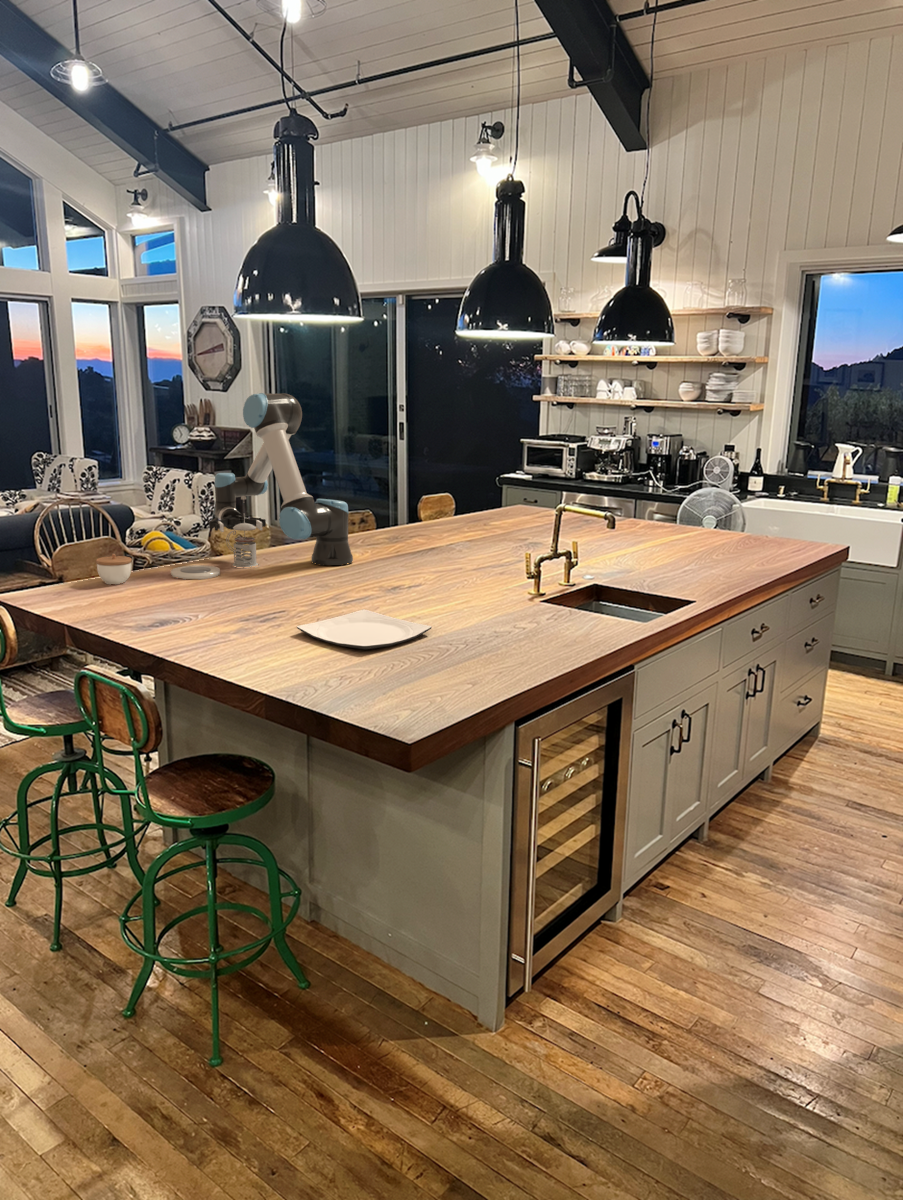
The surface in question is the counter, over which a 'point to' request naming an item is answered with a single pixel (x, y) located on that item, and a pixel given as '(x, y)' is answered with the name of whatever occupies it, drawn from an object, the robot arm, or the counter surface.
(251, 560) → the french press
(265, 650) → the counter surface
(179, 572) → the disc
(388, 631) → the plate
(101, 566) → the lidded jar
